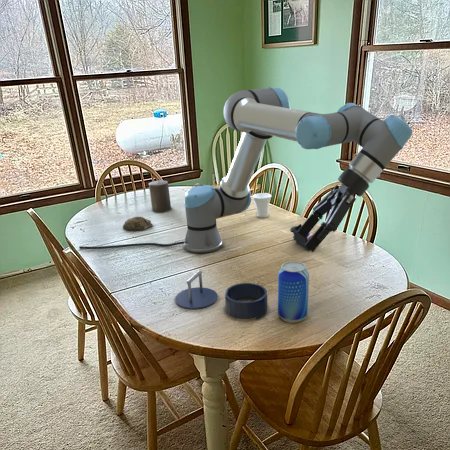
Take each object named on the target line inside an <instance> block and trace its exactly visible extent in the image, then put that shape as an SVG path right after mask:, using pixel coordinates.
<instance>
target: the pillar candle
mask: <svg viewBox="0 0 450 450" xmlns="http://www.w3.org/2000/svg"><path fill="white" fill-rule="evenodd" d="M169 187H170V186H169V181H167V180H154V181H151V182H148V189H149V196H150V197H149V198H150V203H151V204H150V205H151V209H152V212H155V213H165V212H168V211H170V210H172V204H171V203H172V202H171V195H170V188H169Z"/></svg>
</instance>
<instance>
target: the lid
mask: <svg viewBox="0 0 450 450" xmlns="http://www.w3.org/2000/svg"><path fill="white" fill-rule="evenodd" d="M202 274H203V271H202V269H199V270H198V271H197V272H195V273H194V274H193V275H192V276H191V277H190V278H189V279H188V280H186V284H187V288H186V289H184V290H181V291H180V292H178V293H177V294H176V296H175V298H174V302H175V304H176V305H177V306H178V307H179V308H182V309H186V310H203V309H207V308H209V307H211V306H213V305H214V304H216V303H217V302H218V299H219V295H218V293H217V292H216V291H215V290H214V289H211V288H208V287H203V286H204V285H203V275H202ZM197 278H198V283H199V284H198V285H199V287H192V283H193V282H194V281H195V280H196V279H197Z"/></svg>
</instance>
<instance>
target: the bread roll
mask: <svg viewBox="0 0 450 450" xmlns="http://www.w3.org/2000/svg"><path fill="white" fill-rule="evenodd" d="M153 225H154V224H153V223H152V221H151V220H150V219H148V218H145V217H143V216H133V217H131V218H128V219H126V220H125V221H124V223H123V225H122V229H123V230H124V231H129V232H130V231H131V232H137V231H139V232H140V231H146V230H147V229H148V228H151V227H154V226H153Z"/></svg>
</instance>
